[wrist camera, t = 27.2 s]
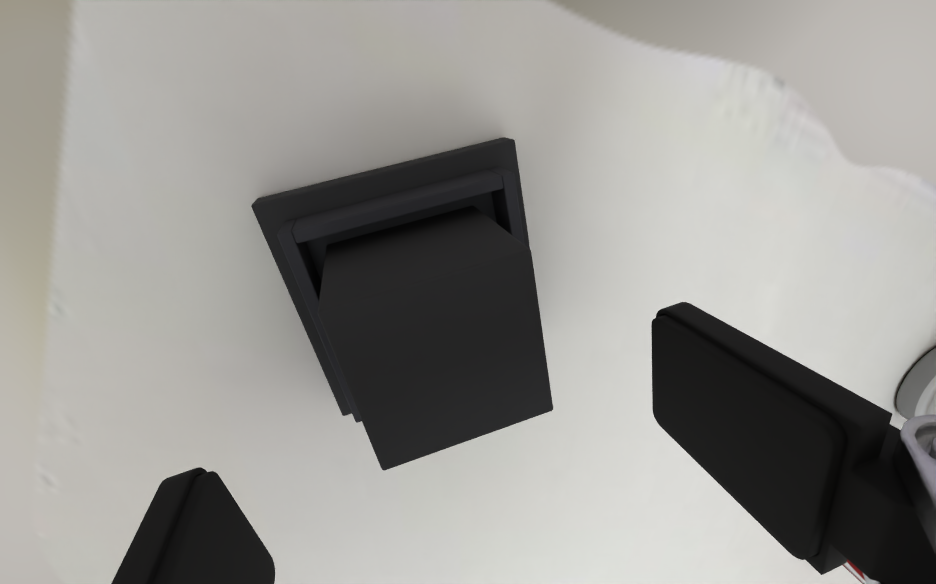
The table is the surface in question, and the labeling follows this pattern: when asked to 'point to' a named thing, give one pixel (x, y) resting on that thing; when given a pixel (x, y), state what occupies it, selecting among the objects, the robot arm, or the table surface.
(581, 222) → the table surface
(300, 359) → the table surface
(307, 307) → the base pad
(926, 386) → the travel mug
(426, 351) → the black cube
